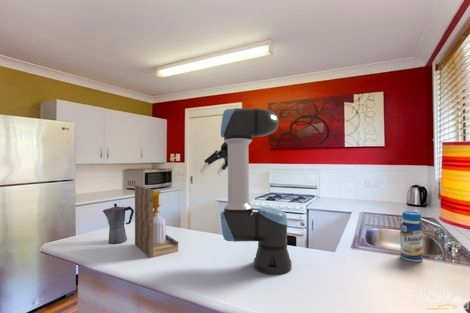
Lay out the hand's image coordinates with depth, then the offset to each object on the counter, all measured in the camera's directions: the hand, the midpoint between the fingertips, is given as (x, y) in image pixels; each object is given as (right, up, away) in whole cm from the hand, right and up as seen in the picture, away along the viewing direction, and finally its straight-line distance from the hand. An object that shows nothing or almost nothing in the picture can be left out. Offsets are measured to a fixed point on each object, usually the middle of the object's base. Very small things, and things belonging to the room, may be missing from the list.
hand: (209, 173), depth 142 cm
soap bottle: (-25, -33, -12) cm, 43 cm away
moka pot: (-48, -36, -2) cm, 60 cm away
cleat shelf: (-25, -36, -12) cm, 45 cm away
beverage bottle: (+90, -36, -26) cm, 101 cm away
